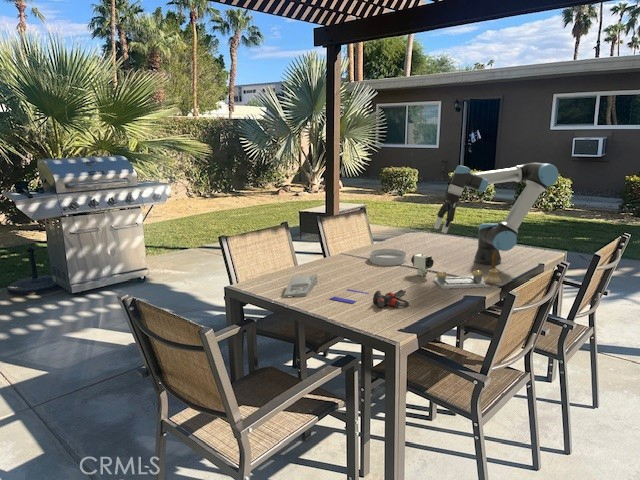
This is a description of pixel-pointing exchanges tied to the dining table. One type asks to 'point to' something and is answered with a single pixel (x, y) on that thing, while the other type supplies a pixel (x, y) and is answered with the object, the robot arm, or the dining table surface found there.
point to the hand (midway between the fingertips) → (439, 230)
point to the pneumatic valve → (422, 263)
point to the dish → (388, 257)
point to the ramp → (300, 285)
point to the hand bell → (493, 271)
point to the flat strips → (347, 299)
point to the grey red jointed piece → (389, 299)
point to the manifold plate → (460, 280)
